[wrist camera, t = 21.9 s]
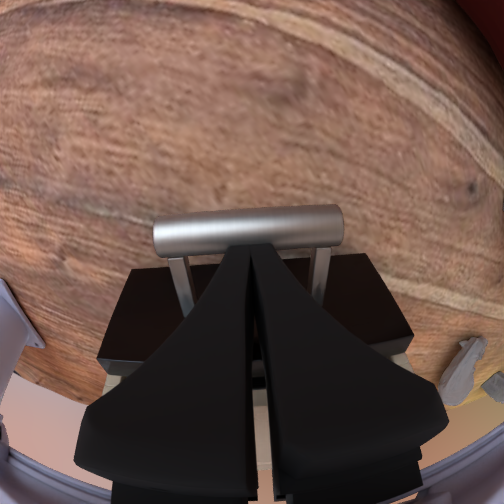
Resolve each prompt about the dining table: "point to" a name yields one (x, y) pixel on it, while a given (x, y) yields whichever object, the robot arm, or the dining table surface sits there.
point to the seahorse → (461, 372)
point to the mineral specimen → (495, 387)
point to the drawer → (216, 242)
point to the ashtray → (488, 22)
